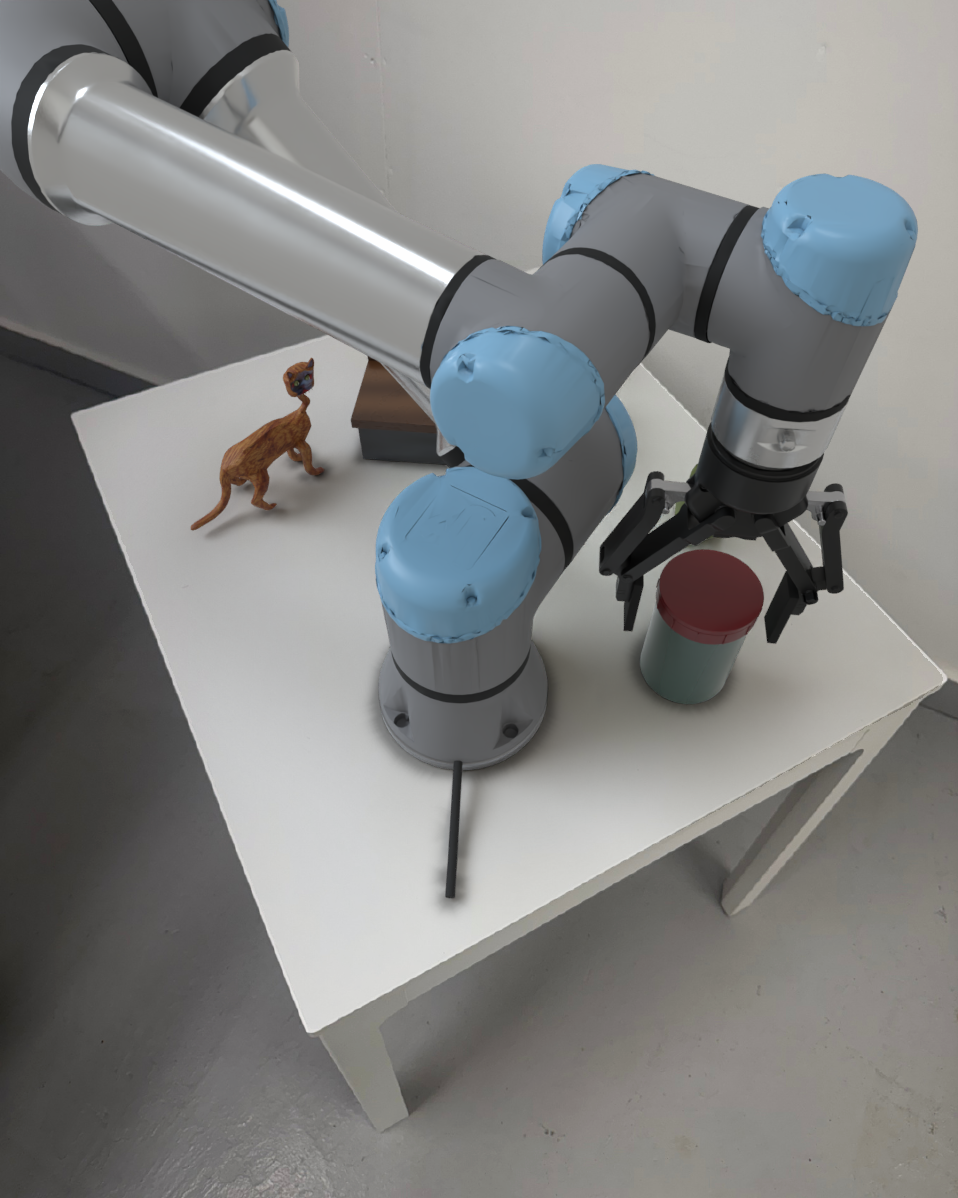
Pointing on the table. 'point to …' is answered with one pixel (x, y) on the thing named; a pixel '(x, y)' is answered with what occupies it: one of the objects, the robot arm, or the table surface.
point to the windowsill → (392, 420)
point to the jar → (684, 663)
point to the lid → (709, 596)
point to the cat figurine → (269, 446)
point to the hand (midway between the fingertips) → (698, 624)
